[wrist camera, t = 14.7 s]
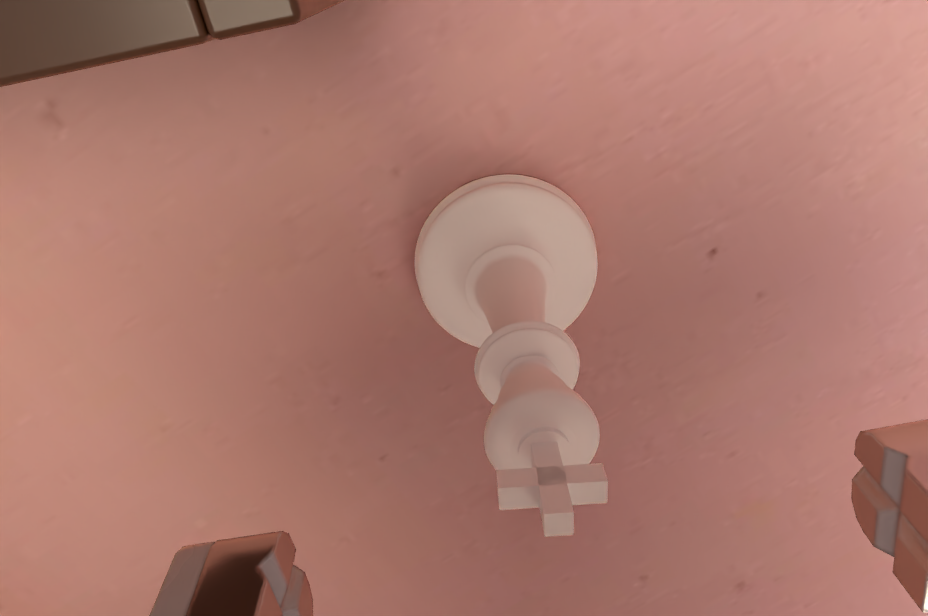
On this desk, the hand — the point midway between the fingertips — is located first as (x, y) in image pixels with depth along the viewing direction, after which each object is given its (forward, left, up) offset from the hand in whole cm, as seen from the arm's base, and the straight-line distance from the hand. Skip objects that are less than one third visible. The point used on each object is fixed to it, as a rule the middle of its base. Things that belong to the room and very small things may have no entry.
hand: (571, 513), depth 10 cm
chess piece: (0, 0, -10) cm, 10 cm away
